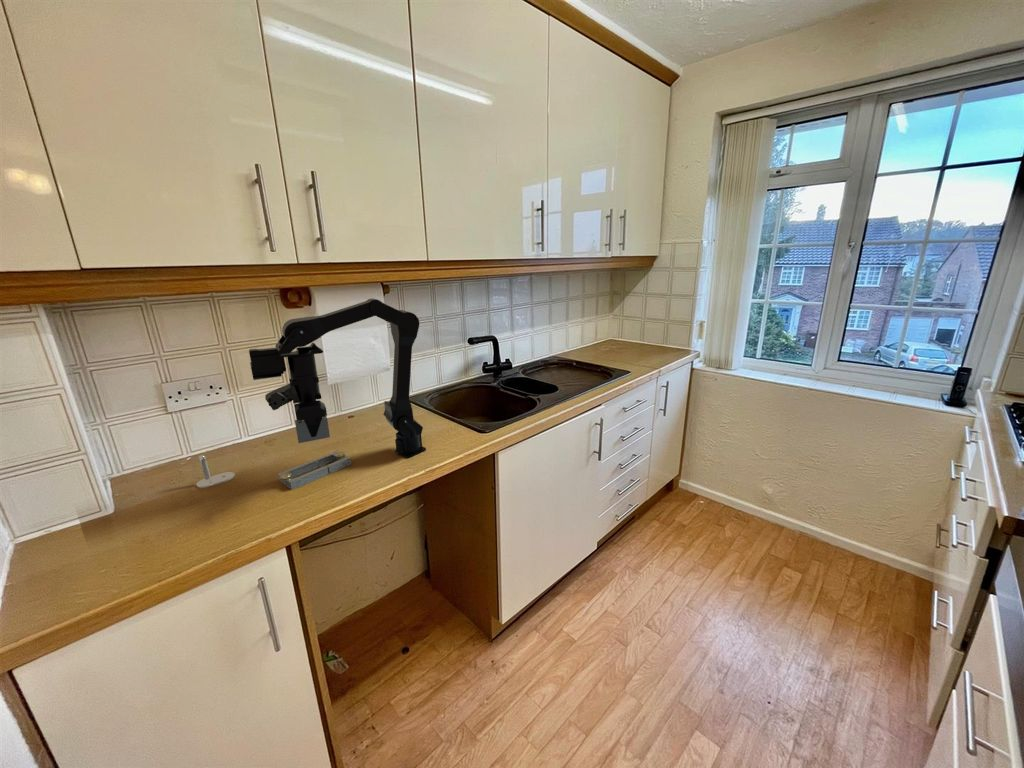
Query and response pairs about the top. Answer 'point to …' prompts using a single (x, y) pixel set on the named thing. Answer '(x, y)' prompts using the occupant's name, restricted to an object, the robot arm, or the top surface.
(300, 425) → the block with brass studs
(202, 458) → the stand
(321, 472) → the end link
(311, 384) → the robot arm
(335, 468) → the end link
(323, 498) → the top surface
